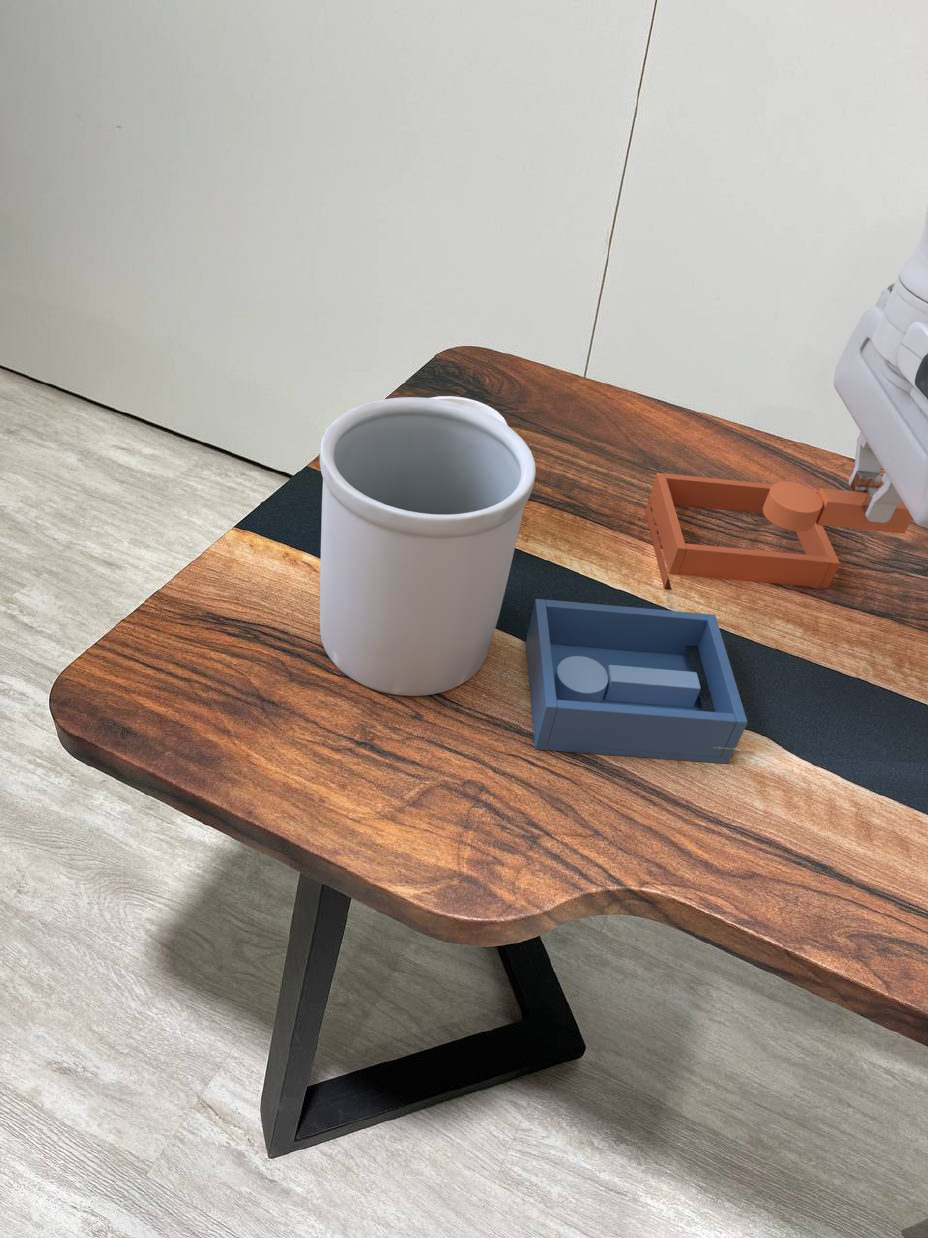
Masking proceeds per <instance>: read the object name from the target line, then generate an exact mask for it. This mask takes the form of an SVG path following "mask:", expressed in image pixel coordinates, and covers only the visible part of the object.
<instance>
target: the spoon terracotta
mask: <svg viewBox="0 0 928 1238" xmlns="http://www.w3.org/2000/svg"><path fill="white" fill-rule="evenodd" d="M866 495H867V493H865V492H855V491H852V490H846V489H845V490H844V489H835V488H823V487H821V488H819V491H818V493H817V491H815V490H814V489H812V488H810V487H809V486H807V485H804V484H802V483H798V482H794V481H779V482H775V483H774V485H773V486H772V487H771V488H770V491H769V493H768V496H767V498H766V501H765V503H764V506H763V513H762V514H763V515H764V517H765V518H766V519H767V520H768V522H770V523H771V524H773V525H774V526H776V527H778V528H780V529H783V530H786V531H791V532H795V533H796V532H802V531H807V530H810V529H811V528H812V527H813V526H814V525H815V522H816V524H817V525H821V526H823V527H833V528H842V529H854V530H863V531H864V530H865V531H874V532H875V531H876V532H885V533H886V532H887V533H896V534H906V532H907V530H908V528H909V526H910V524H911V523H912V520H913V518H912V516H911V515H910V513H909V511H908V510H907V508H906V506H905V505H904V503H903V502H902V503H900V504H899V505H897V507H896V509H895V511H894V513H893V515H892V517H891V519H890V520H889V521H887V522H885V523H879V522H870V521H869V520H867V518H866V516H865V514H864V512H863V510H862V503H863V502H865V497H866Z"/></svg>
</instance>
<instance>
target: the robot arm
mask: <svg viewBox="0 0 928 1238" xmlns="http://www.w3.org/2000/svg"><path fill="white" fill-rule="evenodd" d="M924 219H925V222H924V226H923V231H922V233H921V234H922V235H921V238H920V240H919V242H918V244H917V245H916V247H915V249H914V250H913V252H912V253H911V254H910V255H909V256H908V258H907V259H906V260H905V262H904V263H903V265H902V267H901V269H900V271H899V273H898V276H897V277H896V280H895V282H894V283H892V284H890V285H889V286H887V287H885V288H883V290H882V291H881V292H880V294H879V296H878V298H877V301H876V304H875V305H871V306H869V307H868V308H867V309H866V310H865V311H864V312H863V313H862V315H861V316H860V317H859V320H858V321H857V323H856V325H855V327H854V328H853V331H852V332H851V334H850V336H849V338H848V340H847V342H846V344H845V347H844V349H843V350H842V353H841V354H840V356H839V359H838V361H837V364H836V366H835V370H834V374H833V375H834V376H833V388H834V389H835V391H836V393H837V394H838V396H839V397H840V399H841V401H842V403H843V405H844V406H845V408H846V409H847V411H848V412H849V415H850V416H851V418H852V419H853V421H854V423H855V424H856V426H857V428H858V429H859V431H860V432H859V435H858V437H857V439H856V449H855V459H854V468H853V470H852V472H851V475H850V476H849V480H848V482H847V483H848V486H849V488H850V491H855V492H865V493H867V495H866V497H865V502H863V503H862V510H863V512H864V514H865V516H866V518H867V520H869V521H870V522H879V523H885V522H887V521H889V520H890V519H891V517H892V515H893V513H894V511H895V509H896V507H897V505H899V504H900V503H902V502H903V503H904V505H905V506H906V508H907V510H908V511H909V513H910V515H911V516H912V520H913V521H914V523H915V525H916V526H918V527H920V528H925V529H928V206H927V208H926V212H925V218H924ZM882 470H883V471H884V472H883V474H881V473H882ZM882 484H883V485H882Z"/></svg>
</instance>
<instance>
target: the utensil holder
mask: <svg viewBox="0 0 928 1238" xmlns="http://www.w3.org/2000/svg"><path fill="white" fill-rule="evenodd" d="M431 398H432V397H420V396H419V397H415V396H414V397H413V396H412V397H411V396H409V397H406V396H405V397H393V398H385V399H380V400H379V399H378V400H374V401H370V402H367V403H363V404H361V405H359V406H356V407H353V408H351V409H350V410H348V411H345V412H344V413H342V414H341V415H339V416H338V417H337V418H336V419H335V420H333V421H332V422H331V423H330V424H329V426H328V427H327V429H326V430H325V431H324V434H323V435H322V438H321V442H320V448H319V468H320V473H321V476H322V495H321V526H320V527H321V528H320V529H321V531H320V562H319V563H320V565H319V634H320V640H321V645H322V646H323V649H324V652H325V653H326V654H327V656H328V658H329V659H330V661H331V662H332V663H333V664H334V665H335V666H336V667H337V669H339V670H340V671H341V672H342V673H343V674H344V675H346V676H347V677H349V678H350V679H351V680H353V681H355V682H357V683H359V684H360V685H363V686H365V687H366V688H369V689H371V690H374V691H378V692H380V693H385V694H390V695H395V696H402V697H403V696H405V697H423V696H431V695H436V694H440V693H444V692H448V691H450V690H453V689H455V688H457V687H459V686H461V685H463V684H464V683H466V682H468V681H469V680H471V678H473V677H475V675H476V674H477V673H478V672H479V671H480V670H481V669H482V667H483V665H484V664H485V662H486V659H487V658H488V655H489V652H490V650H491V645H492V642H493V638H494V634H495V632H496V628H497V624H498V620H499V617H500V613H501V609H502V604H503V601H504V597H505V594H506V593H505V592H506V588H507V584H508V580H509V575H510V572H511V567H512V562H513V558H514V554H515V549H516V545H517V540H518V536H519V532H520V527H521V524H522V519H523V516H524V515H523V514H524V510H525V506H526V504H527V503H528V500H529V499H530V497H531V495H532V492H533V489H534V484H535V480H536V475H537V470H536V469H537V468H536V461H535V457H534V455H533V453H532V451H531V449H530V447H529V446H528V444H527V443H526V441H525V440H524V439H523V438H522V437H521V436H520V435H519V434H518V433H517V432H516V431H515V430H514V429H512V428H511V427H510V426H509V425H508V424H507V425H508V426H507V425H506V424H504V423H503V422H501V421H499V420H498V419H496V418H494V417H492V416H490V415H488V414H486V413H484V412H482V411H480V410H477V409H475V408H472V407H469V406H466V405H463V404H459V403H454V402H450V401H444V400H438V399H431Z"/></svg>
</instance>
